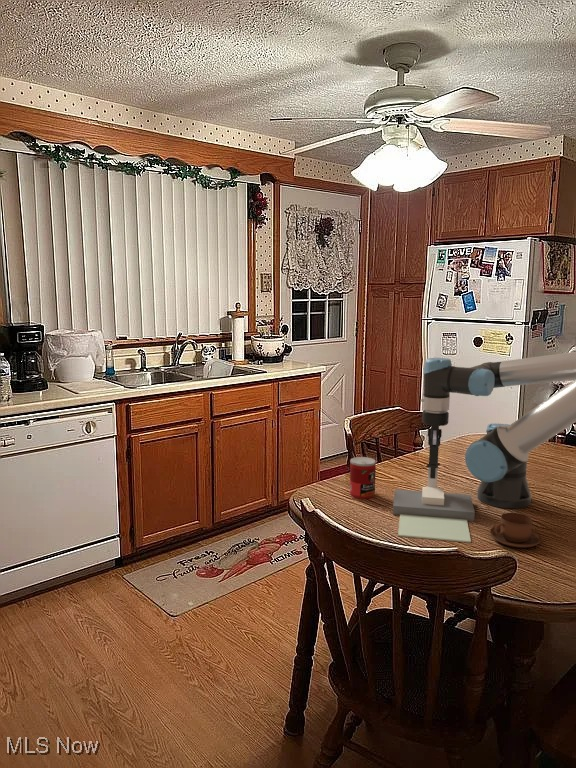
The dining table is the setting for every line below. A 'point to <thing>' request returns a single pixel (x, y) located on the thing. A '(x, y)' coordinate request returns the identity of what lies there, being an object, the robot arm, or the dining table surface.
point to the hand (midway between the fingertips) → (432, 487)
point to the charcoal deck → (452, 508)
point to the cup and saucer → (515, 531)
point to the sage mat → (434, 528)
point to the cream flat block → (432, 496)
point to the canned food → (362, 477)
